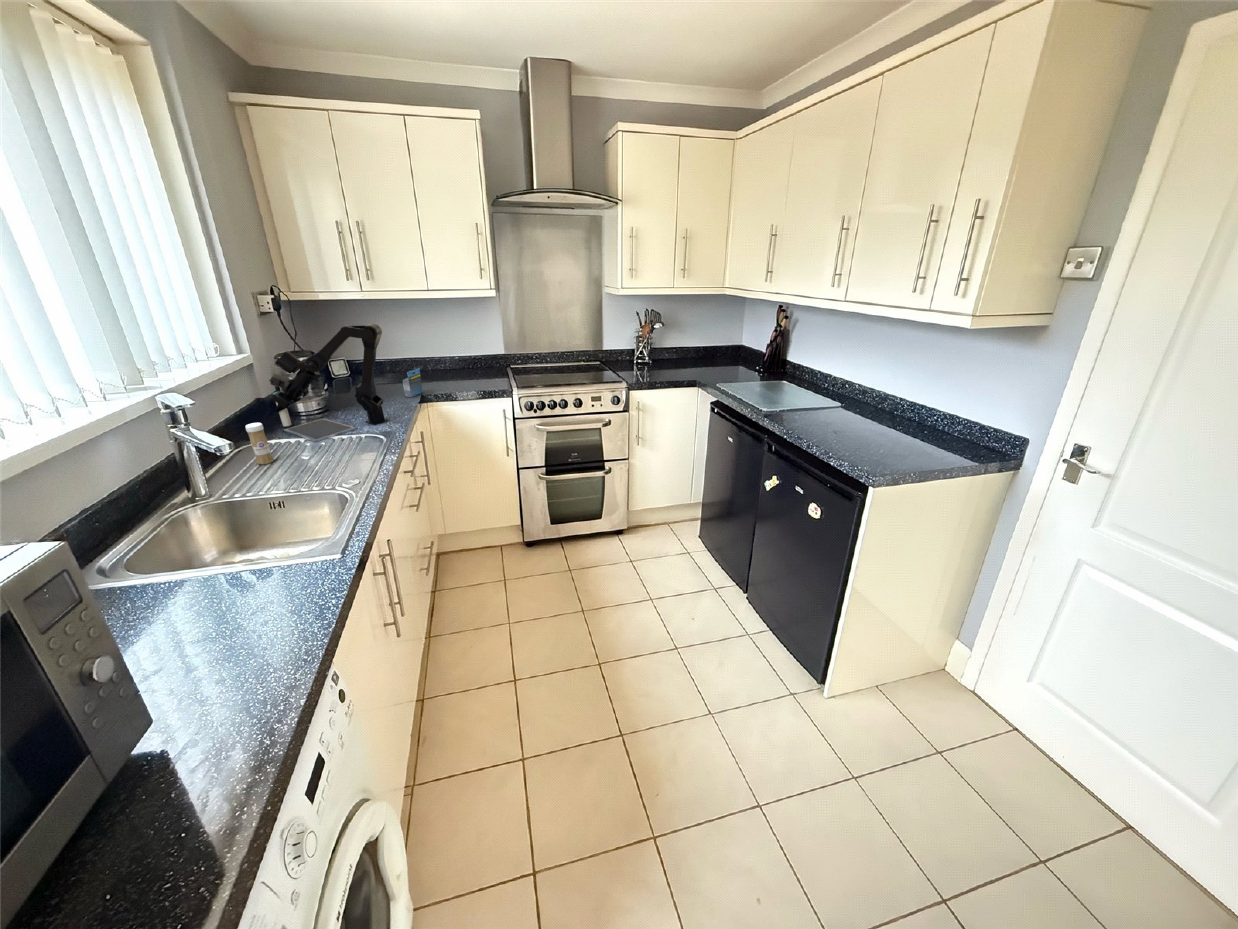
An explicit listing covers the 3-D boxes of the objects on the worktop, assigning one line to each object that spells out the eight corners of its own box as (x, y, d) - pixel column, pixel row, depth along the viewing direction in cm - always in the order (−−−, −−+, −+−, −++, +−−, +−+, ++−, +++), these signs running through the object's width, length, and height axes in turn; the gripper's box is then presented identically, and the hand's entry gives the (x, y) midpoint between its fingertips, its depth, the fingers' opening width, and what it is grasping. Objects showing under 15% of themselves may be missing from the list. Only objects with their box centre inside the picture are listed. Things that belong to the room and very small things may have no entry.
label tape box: (416, 392, 243) (412, 367, 238) (423, 392, 242) (419, 368, 237) (404, 397, 235) (400, 371, 230) (412, 397, 234) (407, 372, 229)
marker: (294, 425, 198) (284, 392, 192) (285, 428, 195) (275, 394, 190) (289, 424, 199) (279, 391, 194) (281, 426, 197) (271, 393, 191)
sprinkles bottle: (262, 466, 162) (249, 427, 156) (254, 463, 164) (242, 425, 159) (276, 461, 166) (264, 423, 160) (269, 458, 168) (257, 421, 162)
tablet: (355, 429, 194) (355, 427, 194) (315, 442, 182) (314, 439, 181) (324, 420, 204) (323, 418, 204) (283, 431, 192) (283, 429, 192)
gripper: (292, 362, 197) (270, 390, 200) (269, 373, 180) (246, 403, 183) (318, 380, 201) (296, 407, 204) (298, 393, 184) (275, 422, 187)
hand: (279, 410), depth 194 cm, fingers closed on marker, 3 cm apart
